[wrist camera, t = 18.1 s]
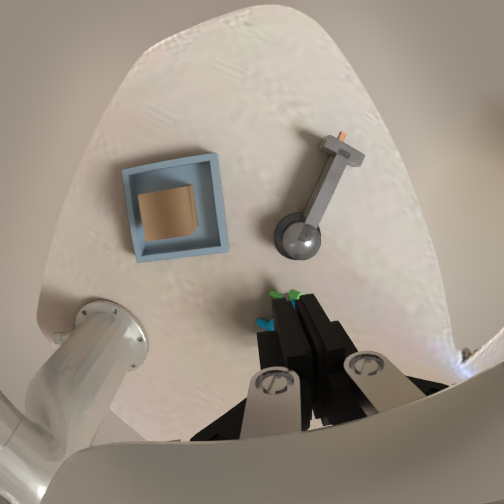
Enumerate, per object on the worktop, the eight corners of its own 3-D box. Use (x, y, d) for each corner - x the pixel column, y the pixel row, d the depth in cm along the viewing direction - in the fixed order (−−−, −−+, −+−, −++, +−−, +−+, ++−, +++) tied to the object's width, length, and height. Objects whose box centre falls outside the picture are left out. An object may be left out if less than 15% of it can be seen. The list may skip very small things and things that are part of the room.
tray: (143, 257, 36) (136, 263, 33) (129, 170, 33) (121, 169, 30) (229, 246, 36) (228, 252, 33) (218, 154, 33) (216, 152, 30)
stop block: (160, 231, 34) (145, 241, 29) (154, 191, 33) (137, 194, 27) (198, 225, 34) (190, 235, 29) (193, 185, 33) (183, 186, 27)
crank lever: (307, 260, 36) (312, 266, 34) (273, 245, 36) (275, 250, 33) (356, 156, 33) (365, 155, 31) (323, 137, 32) (329, 134, 30)
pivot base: (264, 243, 36) (265, 243, 36) (341, 130, 33) (342, 130, 32) (302, 267, 37) (302, 268, 37) (375, 159, 34) (376, 159, 33)
